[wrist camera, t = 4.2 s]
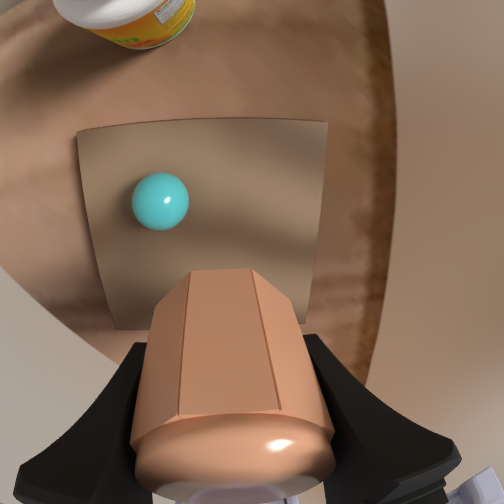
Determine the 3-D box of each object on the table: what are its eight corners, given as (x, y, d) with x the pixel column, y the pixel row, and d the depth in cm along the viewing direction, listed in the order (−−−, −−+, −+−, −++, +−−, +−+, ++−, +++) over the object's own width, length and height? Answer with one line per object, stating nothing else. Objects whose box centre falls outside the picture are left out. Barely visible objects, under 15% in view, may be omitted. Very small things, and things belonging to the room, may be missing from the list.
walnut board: (301, 313, 23) (305, 323, 22) (119, 319, 22) (115, 329, 21) (321, 120, 17) (328, 122, 16) (84, 129, 15) (76, 132, 14)
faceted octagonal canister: (283, 363, 14) (317, 496, 8) (170, 369, 14) (160, 505, 8) (293, 265, 12) (359, 424, 6) (147, 272, 11) (103, 439, 5)
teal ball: (192, 216, 18) (188, 239, 15) (141, 218, 17) (129, 241, 15) (190, 165, 16) (184, 179, 13) (136, 168, 16) (121, 183, 13)
